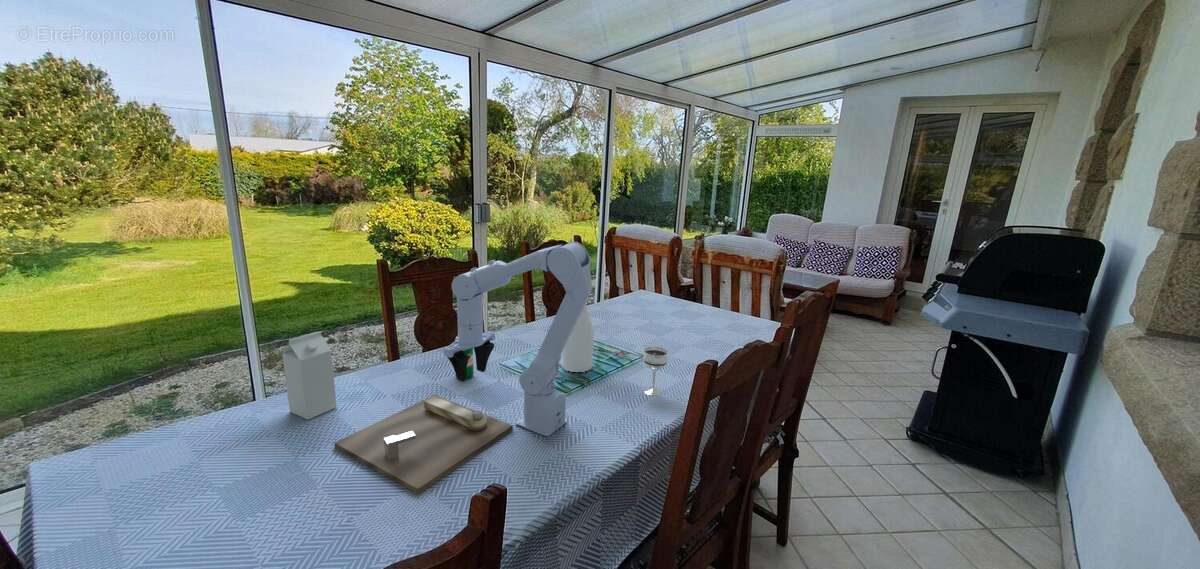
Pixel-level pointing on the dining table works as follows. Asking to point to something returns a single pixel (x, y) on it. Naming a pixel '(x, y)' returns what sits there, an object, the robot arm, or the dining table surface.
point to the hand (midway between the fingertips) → (471, 375)
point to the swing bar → (457, 413)
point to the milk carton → (309, 376)
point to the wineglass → (654, 365)
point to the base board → (421, 445)
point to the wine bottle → (579, 345)
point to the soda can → (469, 362)
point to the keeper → (396, 444)
